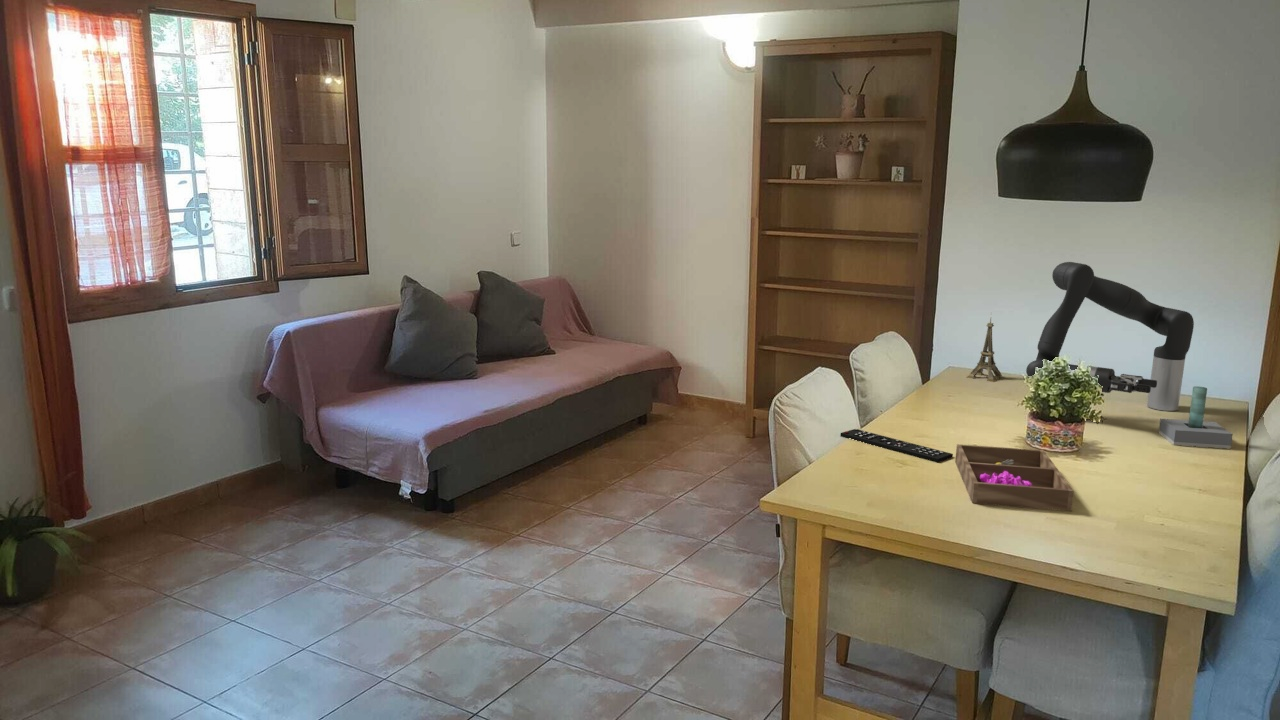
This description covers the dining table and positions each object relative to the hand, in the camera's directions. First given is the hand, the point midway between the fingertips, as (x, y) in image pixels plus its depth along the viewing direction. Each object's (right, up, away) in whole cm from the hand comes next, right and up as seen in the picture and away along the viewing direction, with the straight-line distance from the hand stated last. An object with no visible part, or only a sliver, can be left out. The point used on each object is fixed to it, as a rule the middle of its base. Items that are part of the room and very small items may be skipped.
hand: (1153, 386), depth 281 cm
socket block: (+9, -16, -5) cm, 19 cm away
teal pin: (+9, -15, -5) cm, 18 cm away
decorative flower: (-58, -23, -43) cm, 76 cm away
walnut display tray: (-61, -23, -46) cm, 80 cm away
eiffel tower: (-23, +1, +74) cm, 77 cm away
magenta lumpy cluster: (-66, -26, -55) cm, 90 cm away
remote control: (-82, -17, -15) cm, 85 cm away
